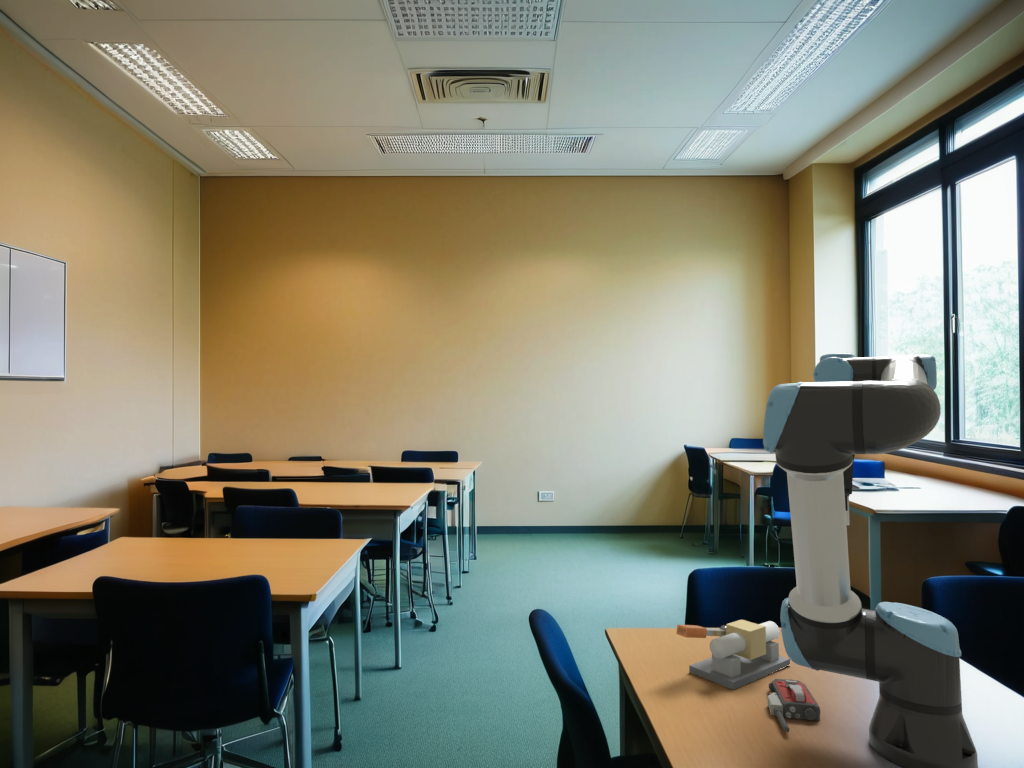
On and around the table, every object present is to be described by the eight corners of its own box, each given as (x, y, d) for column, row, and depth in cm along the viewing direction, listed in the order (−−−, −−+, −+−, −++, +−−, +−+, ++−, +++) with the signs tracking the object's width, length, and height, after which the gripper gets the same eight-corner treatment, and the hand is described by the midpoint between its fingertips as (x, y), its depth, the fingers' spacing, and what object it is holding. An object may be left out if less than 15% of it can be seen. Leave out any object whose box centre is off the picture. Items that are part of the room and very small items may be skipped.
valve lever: (724, 624, 143) (677, 622, 133) (734, 627, 141) (687, 625, 131) (723, 637, 142) (676, 636, 133) (733, 640, 140) (685, 639, 130)
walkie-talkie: (758, 690, 127) (780, 737, 108) (758, 668, 128) (779, 711, 108) (804, 694, 125) (834, 743, 106) (803, 672, 126) (833, 717, 106)
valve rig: (746, 651, 148) (745, 609, 149) (790, 665, 139) (789, 621, 140) (689, 672, 135) (688, 626, 136) (733, 689, 126) (732, 640, 127)
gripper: (866, 420, 133) (869, 530, 132) (848, 421, 146) (851, 521, 144) (829, 420, 135) (831, 528, 134) (814, 421, 148) (817, 519, 146)
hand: (842, 524), depth 139 cm, fingers closed
